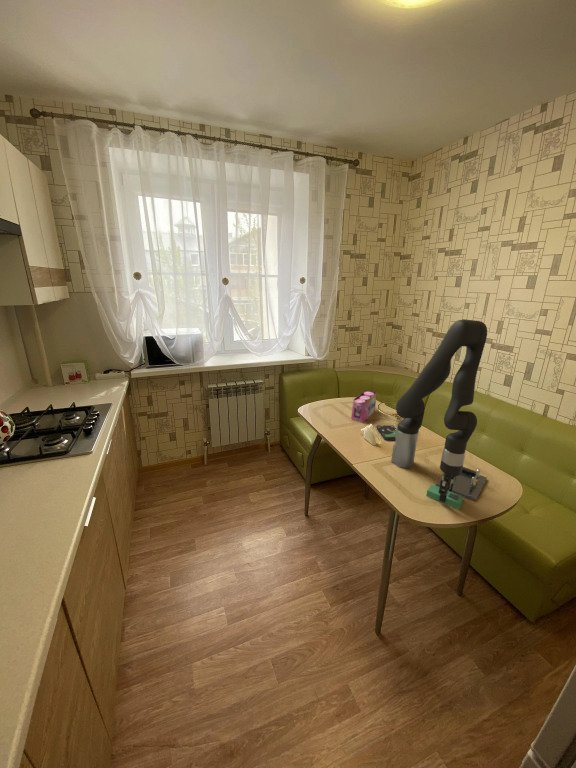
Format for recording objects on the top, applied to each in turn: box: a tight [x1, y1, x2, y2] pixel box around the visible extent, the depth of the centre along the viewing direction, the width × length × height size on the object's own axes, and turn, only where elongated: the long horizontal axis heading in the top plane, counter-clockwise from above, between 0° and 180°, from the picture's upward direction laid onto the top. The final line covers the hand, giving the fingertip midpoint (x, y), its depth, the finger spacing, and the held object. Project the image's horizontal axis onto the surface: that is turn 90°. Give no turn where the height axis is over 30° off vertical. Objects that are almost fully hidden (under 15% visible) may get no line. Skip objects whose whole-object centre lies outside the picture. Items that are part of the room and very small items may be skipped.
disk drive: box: [375, 424, 397, 441], centre depth 178 cm, size 10×3×15 cm
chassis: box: [435, 466, 488, 502], centre depth 135 cm, size 15×20×6 cm
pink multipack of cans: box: [350, 389, 378, 423], centre depth 201 cm, size 24×8×14 cm, turn 146°
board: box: [425, 483, 465, 510], centre depth 125 cm, size 12×6×3 cm, turn 48°
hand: (445, 496), depth 125 cm, fingers open, 7 cm apart
